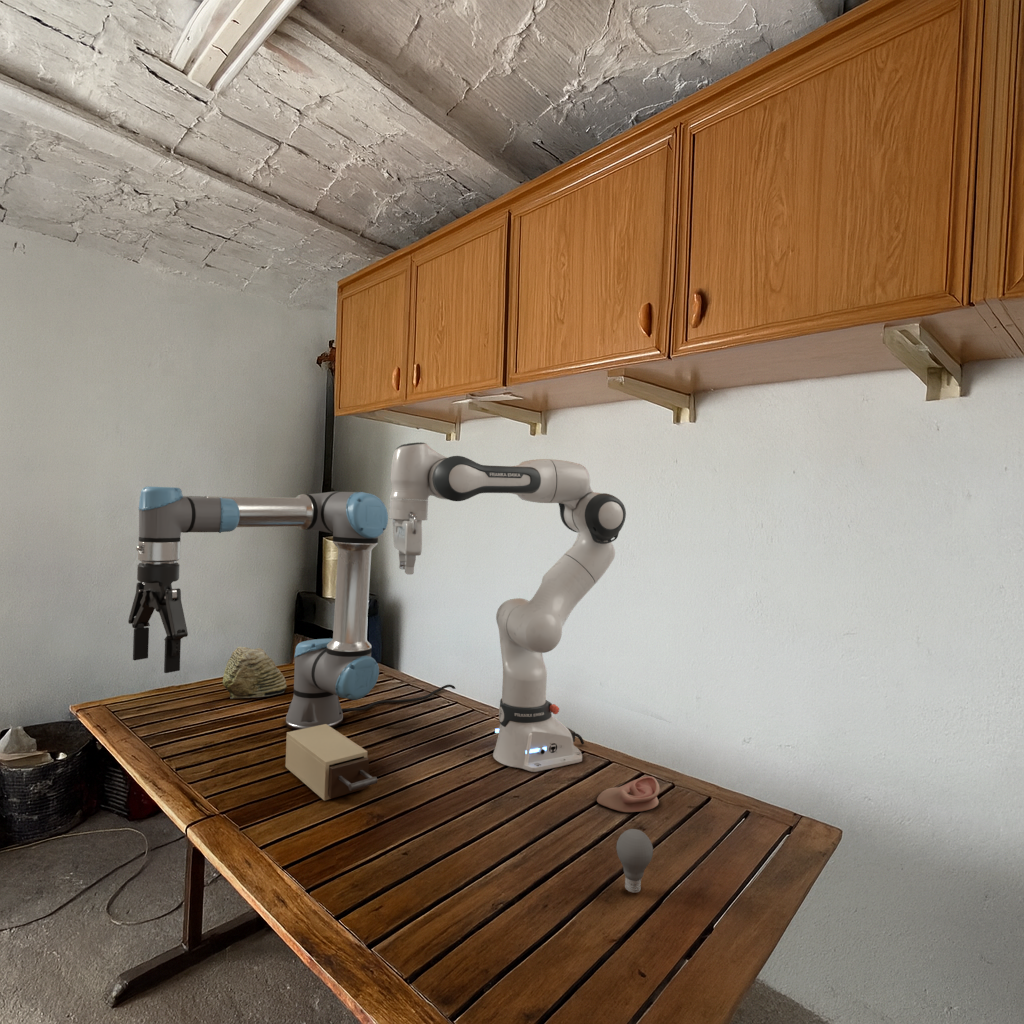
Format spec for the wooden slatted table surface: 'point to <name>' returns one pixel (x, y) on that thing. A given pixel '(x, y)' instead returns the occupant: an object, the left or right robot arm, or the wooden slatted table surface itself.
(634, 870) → the light bulb
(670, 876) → the wooden slatted table surface
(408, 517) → the right robot arm
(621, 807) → the anatomical model
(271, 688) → the fossil
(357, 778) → the drawer
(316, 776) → the cabinet
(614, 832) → the wooden slatted table surface
